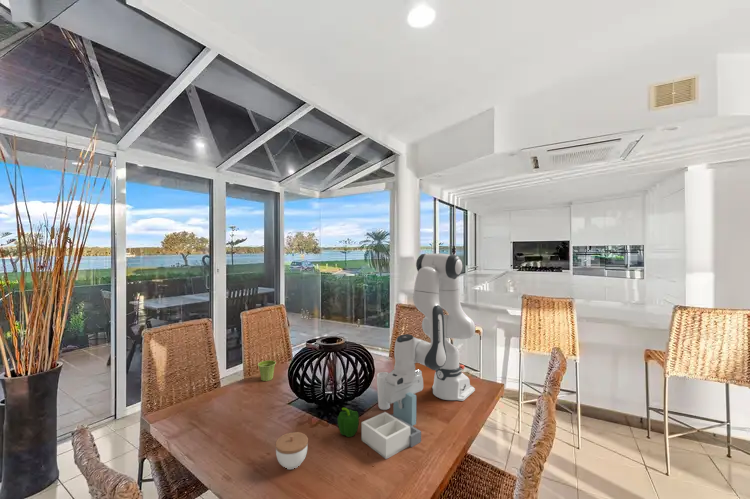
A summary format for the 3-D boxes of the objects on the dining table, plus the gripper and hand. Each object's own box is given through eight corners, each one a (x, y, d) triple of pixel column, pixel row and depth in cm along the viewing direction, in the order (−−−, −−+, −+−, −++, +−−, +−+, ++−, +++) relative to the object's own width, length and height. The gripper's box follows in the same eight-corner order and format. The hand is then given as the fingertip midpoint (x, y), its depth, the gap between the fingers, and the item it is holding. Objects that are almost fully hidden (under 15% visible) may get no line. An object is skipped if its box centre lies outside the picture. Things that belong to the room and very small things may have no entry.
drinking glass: (390, 412, 145) (390, 378, 145) (375, 410, 147) (375, 377, 146) (392, 404, 152) (392, 372, 152) (378, 403, 153) (378, 371, 153)
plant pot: (255, 378, 180) (254, 363, 180) (271, 374, 187) (271, 358, 186) (262, 384, 173) (262, 368, 173) (279, 379, 180) (278, 363, 179)
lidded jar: (279, 454, 117) (279, 428, 117) (309, 452, 118) (309, 426, 117) (272, 475, 106) (272, 446, 106) (306, 473, 107) (305, 445, 107)
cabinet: (392, 423, 136) (392, 406, 136) (421, 441, 124) (421, 423, 124) (359, 439, 126) (359, 421, 125) (388, 460, 113) (388, 440, 113)
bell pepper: (363, 431, 131) (363, 406, 131) (351, 442, 124) (351, 415, 124) (346, 425, 135) (346, 401, 135) (333, 435, 128) (333, 409, 128)
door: (397, 413, 145) (397, 386, 144) (416, 423, 136) (416, 395, 136) (393, 415, 143) (393, 387, 143) (411, 426, 134) (412, 397, 134)
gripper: (416, 365, 148) (416, 396, 148) (381, 378, 135) (381, 411, 135) (426, 370, 143) (426, 401, 144) (392, 383, 130) (392, 417, 130)
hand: (404, 406), depth 139 cm, fingers closed on door, 3 cm apart
